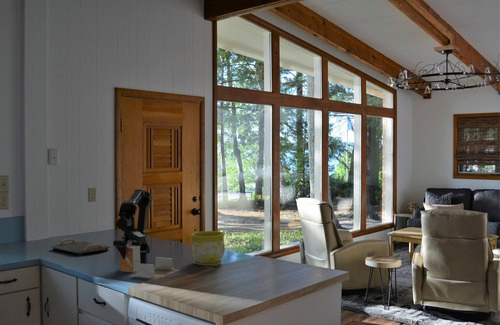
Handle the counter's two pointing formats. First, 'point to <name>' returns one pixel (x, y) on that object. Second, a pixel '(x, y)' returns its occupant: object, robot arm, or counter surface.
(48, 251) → the counter surface
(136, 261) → the small box
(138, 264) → the bookends
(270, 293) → the counter surface
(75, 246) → the serving board
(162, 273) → the shelf board
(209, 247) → the flowerpot
